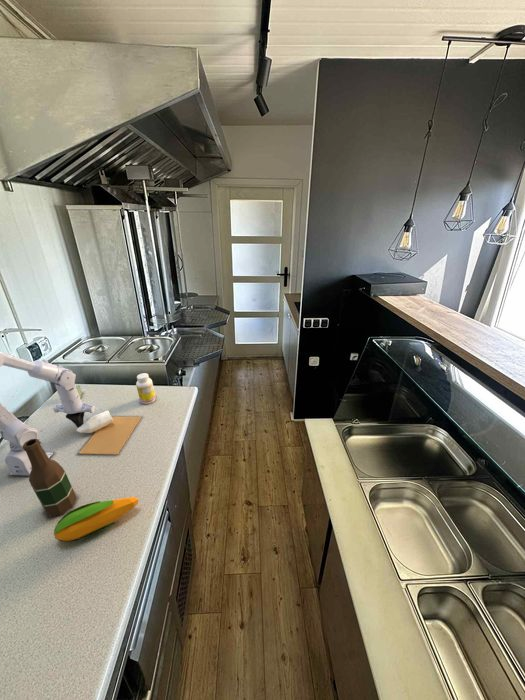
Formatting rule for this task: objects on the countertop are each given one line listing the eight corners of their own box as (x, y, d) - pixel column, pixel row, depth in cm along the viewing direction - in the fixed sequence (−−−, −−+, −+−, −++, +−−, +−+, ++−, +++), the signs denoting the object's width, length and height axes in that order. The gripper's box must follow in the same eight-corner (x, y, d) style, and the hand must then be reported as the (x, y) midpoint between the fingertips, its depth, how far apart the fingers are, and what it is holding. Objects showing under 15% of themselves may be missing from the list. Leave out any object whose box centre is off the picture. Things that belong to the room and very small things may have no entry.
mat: (117, 454, 100) (117, 454, 100) (78, 454, 100) (78, 453, 100) (141, 417, 118) (141, 416, 118) (108, 417, 118) (108, 416, 118)
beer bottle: (61, 519, 79) (29, 456, 68) (38, 514, 80) (2, 451, 70) (83, 495, 86) (56, 433, 75) (61, 490, 87) (31, 430, 77)
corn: (50, 511, 73) (133, 478, 81) (60, 527, 77) (139, 495, 85) (47, 538, 67) (137, 500, 76) (58, 555, 71) (142, 517, 79)
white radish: (78, 433, 110) (72, 422, 108) (110, 418, 117) (106, 407, 114) (81, 441, 106) (75, 429, 104) (115, 425, 113) (110, 413, 110)
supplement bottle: (139, 398, 130) (133, 373, 124) (155, 394, 133) (149, 370, 127) (141, 406, 125) (134, 381, 119) (156, 402, 127) (151, 377, 121)
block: (80, 398, 131) (77, 390, 129) (68, 400, 129) (65, 392, 127) (82, 393, 134) (79, 385, 132) (71, 394, 133) (68, 386, 131)
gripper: (95, 391, 108) (104, 419, 114) (58, 391, 109) (69, 419, 115) (84, 402, 102) (94, 432, 108) (44, 402, 102) (57, 431, 108)
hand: (81, 426), depth 111 cm, fingers closed
